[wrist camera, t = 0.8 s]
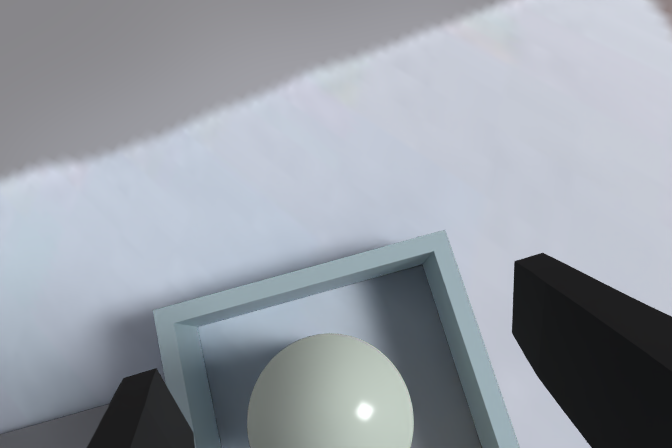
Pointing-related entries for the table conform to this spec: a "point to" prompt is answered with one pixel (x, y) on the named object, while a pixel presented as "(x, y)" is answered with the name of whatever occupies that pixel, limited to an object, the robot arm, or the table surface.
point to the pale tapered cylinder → (330, 398)
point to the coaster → (57, 431)
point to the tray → (430, 250)
